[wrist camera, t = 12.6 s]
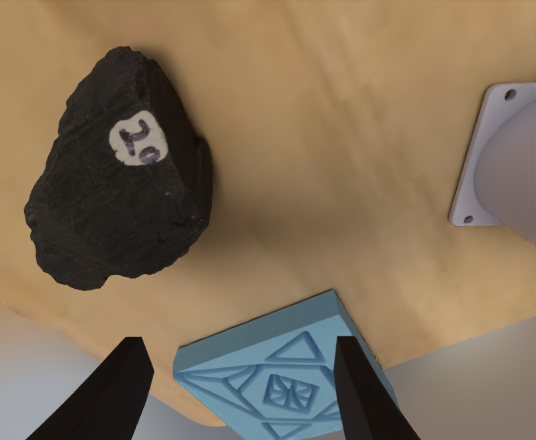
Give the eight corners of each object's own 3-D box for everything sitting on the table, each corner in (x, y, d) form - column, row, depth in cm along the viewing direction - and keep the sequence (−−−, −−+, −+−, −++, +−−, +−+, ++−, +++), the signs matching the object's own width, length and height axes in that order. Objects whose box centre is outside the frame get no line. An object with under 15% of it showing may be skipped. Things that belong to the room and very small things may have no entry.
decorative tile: (332, 287, 22) (338, 313, 19) (393, 387, 27) (403, 415, 25) (177, 349, 25) (168, 376, 23) (259, 425, 31) (258, 452, 29)
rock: (165, 36, 14) (99, 27, 9) (237, 215, 19) (221, 277, 14) (14, 94, 16) (-115, 114, 11) (116, 246, 20) (61, 311, 15)
